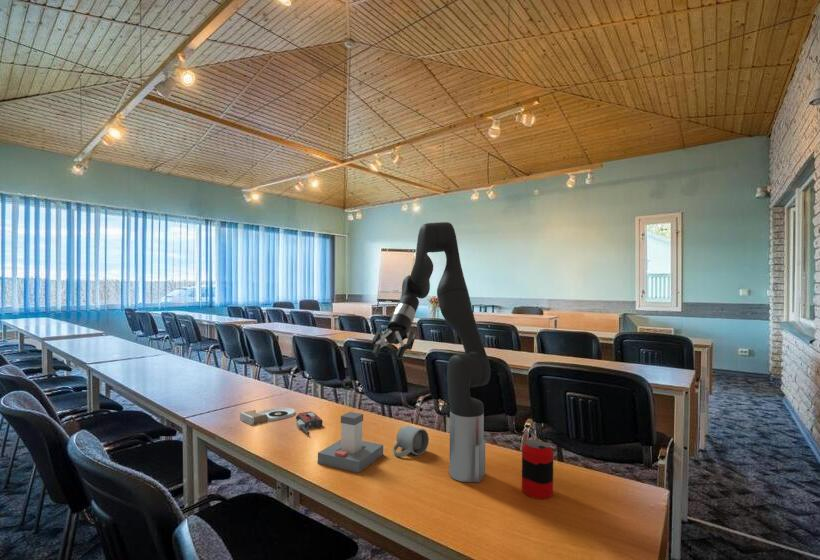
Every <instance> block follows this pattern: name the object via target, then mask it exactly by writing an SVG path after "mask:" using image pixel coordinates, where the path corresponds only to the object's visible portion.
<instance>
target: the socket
mask: <svg viewBox="0 0 820 560" xmlns="http://www.w3.org/2000/svg"><path fill="white" fill-rule="evenodd" d="M383 455H384V444H382V443H381V444H380V443H376V442H370V441H367V440H362V450H361V451H360V452H358V453H357V454H350V453H348V452H345V451H341V439H340V440H338V441H336V442H334V443H332V444H331V445H329V446H327V447H326V448H324V449H322V450H321V451H319V452H317V464H319V465H324V466H328V467H332V468H337V469H340V470H345V471H348V472H353V473H356V474H359V473H361V472H362V471H364V470H365V469H366V468H367V467H369V466H370V465H372V464H373V463H374V462H375V461H377V460H378V459H379V458H381V457H382V456H383Z"/></svg>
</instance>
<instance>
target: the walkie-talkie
mask: <svg viewBox="0 0 820 560" xmlns="http://www.w3.org/2000/svg"><path fill="white" fill-rule="evenodd" d="M295 419H296V427H297V429H298V430H299V431H301V430H302V431H303V432H304V433H306V434H307V435H310V434H311V433H310V431H309V430H310V429H311V430H312V429H315V428H322V427H323V419H322V418H321V417H319V415H318V414H316V413H315V412H313V411H312V410H311V411H309V410H308V411H303V412H299V413H297V415H296V416H295Z"/></svg>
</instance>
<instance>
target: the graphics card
mask: <svg viewBox="0 0 820 560" xmlns="http://www.w3.org/2000/svg"><path fill="white" fill-rule="evenodd" d="M295 414H296V410H295V409H293V408H292V407H275V408H274V407H273V408H270V409H263V410H259V411H258V412H256V410H255V409H253V410H248V411H243V412H240V414H239V420H240V421H241V420H242V422H244V423H246V424H248V425H250V426H254V424H255V425H258V423H259V424H262V422H263V423H266V422H275V421H274V420H276V421H279V419H280V420H283V418H284V419H288V418H290V417H293V416H294V415H295ZM287 417H288V418H287Z"/></svg>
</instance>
